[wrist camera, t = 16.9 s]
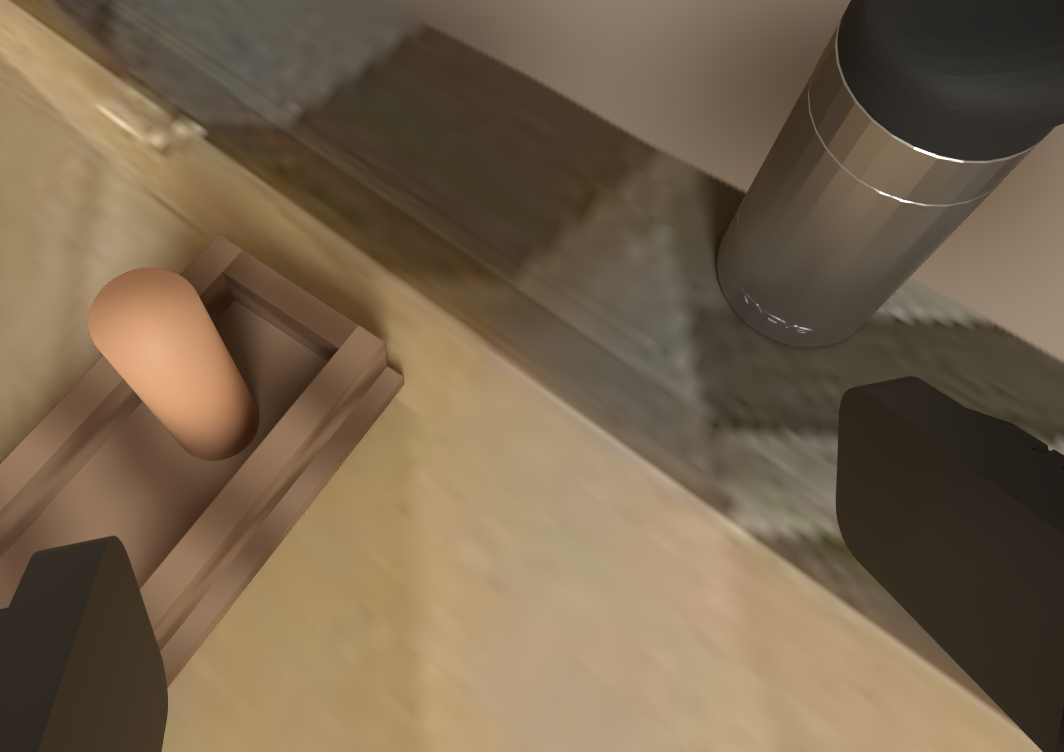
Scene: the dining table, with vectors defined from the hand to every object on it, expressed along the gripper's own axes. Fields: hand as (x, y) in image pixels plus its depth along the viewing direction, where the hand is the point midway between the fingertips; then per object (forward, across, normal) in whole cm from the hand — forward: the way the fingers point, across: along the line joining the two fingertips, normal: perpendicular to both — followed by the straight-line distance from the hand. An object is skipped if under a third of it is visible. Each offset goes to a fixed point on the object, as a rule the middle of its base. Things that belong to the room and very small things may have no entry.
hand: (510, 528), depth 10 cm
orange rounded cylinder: (+35, +9, +13) cm, 38 cm away
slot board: (+34, +11, +16) cm, 39 cm away
